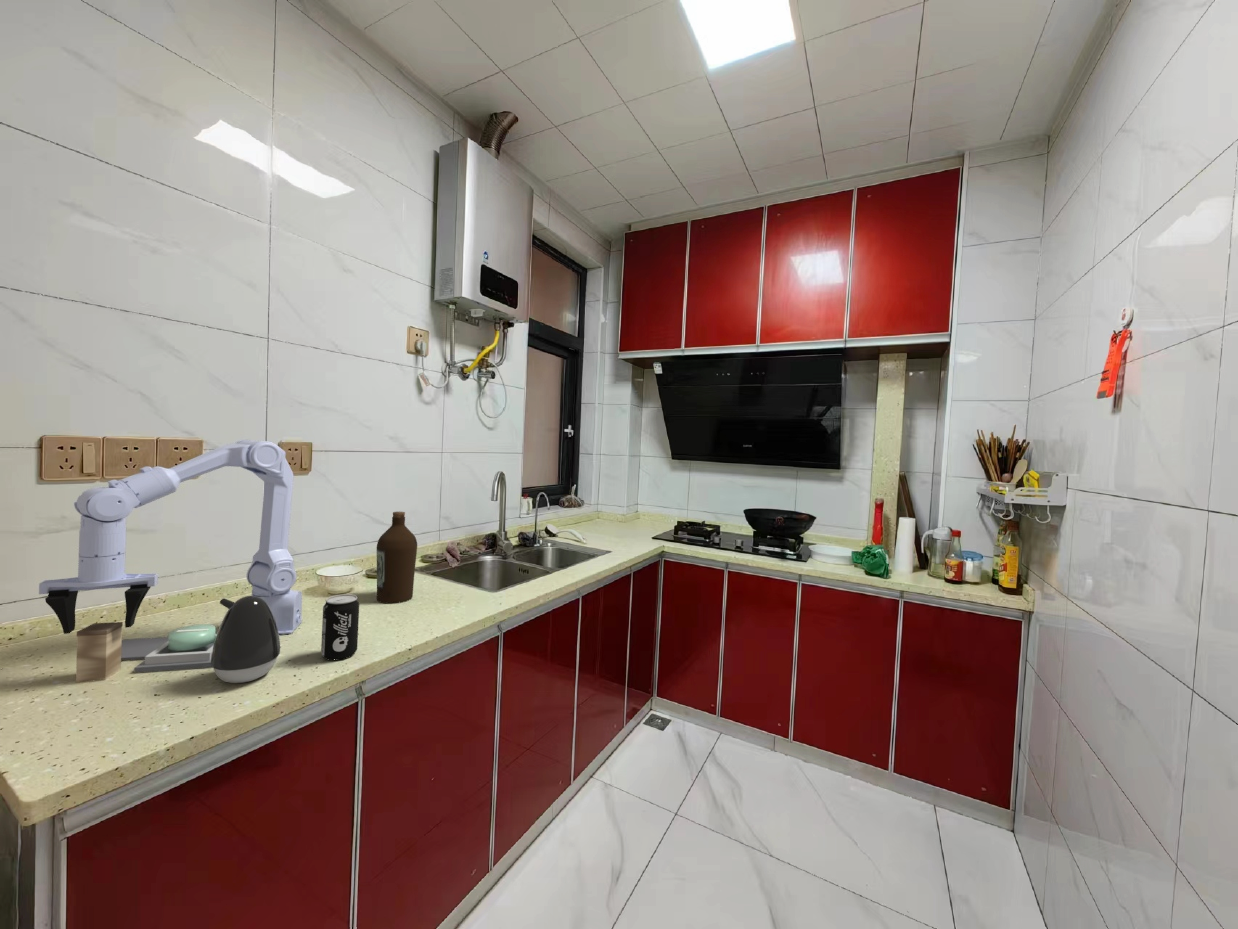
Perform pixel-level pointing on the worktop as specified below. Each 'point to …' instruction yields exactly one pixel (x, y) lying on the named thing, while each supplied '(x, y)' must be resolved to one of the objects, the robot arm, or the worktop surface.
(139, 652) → the mat
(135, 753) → the worktop surface
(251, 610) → the pump dispenser
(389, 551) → the olive oil
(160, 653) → the switch panel
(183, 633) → the button
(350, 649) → the beverage can
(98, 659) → the wooden rectangular block
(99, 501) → the robot arm
